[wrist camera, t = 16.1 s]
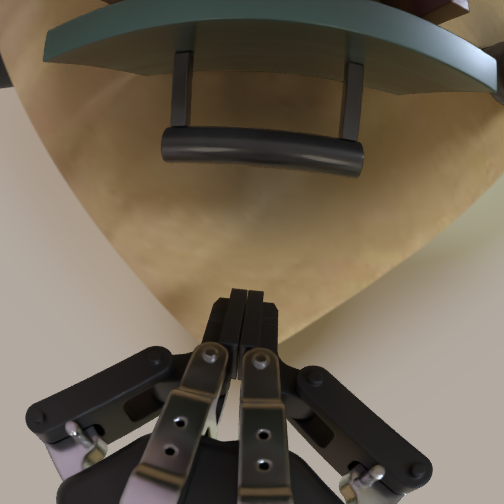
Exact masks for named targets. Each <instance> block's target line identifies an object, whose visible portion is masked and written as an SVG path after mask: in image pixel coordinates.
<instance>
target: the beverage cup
mask: <svg viewBox="0 0 504 504" xmlns="http://www.w3.org/2000/svg"><path fill="white" fill-rule="evenodd" d="M483 51H484V52H486V53H487V54H489V55H490V56H492V57H493V58H495V59H496V62H497V92H496V93H494V92H490V93H491V95H492V96H493V97H494V98H495V100H496V101H497V102H499V103H501V104H502V105H504V42H501V43H497V44H496V45H494V46H491V47H488V48H485V49H484V50H483Z"/></svg>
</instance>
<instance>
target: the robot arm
mask: <svg viewBox="0 0 504 504" xmlns="http://www.w3.org/2000/svg"><path fill="white" fill-rule="evenodd" d="M247 291H248V290H244V289H235V288H232V291H231V295H230V299H229V298H221V297H220V298H219V299H218V300H217V301H216V302H215V303H214V304H213V307H212V310H211V314H210V317H209V320H208V323H207V327H206V330H205V333H204V336H203V340H202V343H201V344H200V345H198V346H197V347H196V348H195V349H194V351H193V352H190V353H187V354H178V355H172V354H171V352H170V351H169V350H168V349H166V348H164V347H161V346H152V347H149V348H146V349H145V350H142V351H141V352H139V353H137V354H135V355H133V356H131V357H129V358H127V359H125V360H123V361H121V362H119V363H117V364H115V365H113V366H111V367H109V368H107V369H105V370H104V371H101V372H100V373H97V374H95V375H93V376H92V377H89V378H87V379H86V380H83V381H81V382H79V383H77V384H75V385H73V386H71V387H69V388H67V389H65V390H62V391H61V392H58V393H56V394H54V395H52V396H50V397H48V398H45V399H43V400H41V401H39V402H37V403H34V404H33V405H32V406H30V407H29V408H28V410H27V413H26V423H27V426H28V428H29V429H30V430H31V431H32V432H33V433H35V434H36V435H37V436H38V437H39V438H40V439H41V440H42V441H43V442H44V444H45V446H46V448H47V450H48V452H49V454H50V457H51V459H52V461H53V463H54V465H55V467H56V469H57V471H58V473H59V475H60V477H61V479H62V480H63V482H62V484H61V485H60V487H59V488H58V491H57V497H56V503H57V504H344V503H343V502H342V500H341V499H340V498H339V497H338V496H337V495H336V494H335V493H334V492H333V491H332V490H331V489H330V488H329V487H328V486H327V485H326V484H325V483H324V482H323V481H322V480H321V478H320V477H319V476H318V475H317V474H316V473H315V472H314V471H313V470H312V469H311V467H310V466H309V465H308V464H307V463H306V462H305V461H304V460H303V459H302V458H301V457H299V456H298V455H296V454H294V453H293V452H291V451H289V450H288V436H287V422H286V418H287V420H288V421H289V422H290V423H291V424H292V425H293V426H294V428H295V429H296V430H297V431H298V432H299V433H300V434H301V435H302V436H303V437H304V438H305V439H306V440H307V442H308V443H309V444H310V445H311V446H312V447H313V448H314V449H315V450H316V451H317V452H318V453H319V454H320V455H321V456H322V457H323V458H324V459H325V460H326V461H327V462H328V463H329V464H330V465H331V466H332V467H333V468H334V469H335V470H336V471H337V472H338V473H339V474H340V475H341V476H342V478H341V480H340V482H339V490H340V492H341V494H342V495H343V496H344V498H345V500H346V504H397V503H398V502H399V501H400V499H401V498H402V497H403V496H404V495H405V494H407V493H410V492H411V491H413V490H416V489H418V488H420V487H422V486H424V485H425V484H426V483H427V482H428V481H429V480H430V478H431V476H432V471H433V468H432V464H431V462H430V460H429V459H428V458H427V457H426V456H424V455H423V454H422V453H421V452H420V451H418V450H417V449H416V448H415V447H414V446H412V445H411V444H410V443H409V442H408V441H406V440H405V439H404V438H403V437H402V436H400V435H399V434H398V433H397V432H395V430H393V429H392V428H391V427H390V426H389V425H388V424H386V423H385V422H384V421H383V420H382V419H381V418H380V417H378V416H377V415H376V414H375V413H374V412H372V410H370V409H369V408H368V407H367V406H366V405H365V404H364V403H362V402H361V401H360V400H359V399H358V398H357V397H356V396H354V395H353V394H352V393H351V392H350V391H349V390H348V389H347V388H346V387H344V385H342V384H341V383H340V382H339V381H338V380H337V379H336V378H335V377H333V375H331V374H330V373H329V372H328V371H327V370H325V369H324V368H322V367H319V366H307V367H304V368H303V369H301V370H299V369H296V368H293V367H290V366H288V365H286V364H285V363H283V362H282V360H281V359H280V358H279V356H278V352H277V346H278V310H277V308H276V306H275V304H274V303H267V302H263V296H264V291H254V290H249V291H248V297H247ZM238 364H239V365H238ZM237 370H238V380H241V389H240V406H239V429H238V440H236V441H225V442H223V441H218V440H217V434H218V428H219V424H220V420H221V416H222V413H223V409H224V406H225V402H226V399H227V395H228V390H229V387H230V381H231V379H236V377H237ZM159 415H160V416H159ZM158 416H159V418H158V421H157V423H156V425H155V427H154V430H153V432H152V433H150V434H147V435H144V436H142V437H140V438H138V439H136V440H135V441H133V442H132V443H130V444H128V445H127V446H125V447H123V448H122V449H120V450H118V451H117V452H115V453H113V454H112V455H110V456H108V457H106V458H105V459H103V458H104V457H105V455H106V453H107V445H108V444H110V443H112V442H114V441H115V440H117V439H119V438H121V437H123V436H125V435H127V434H128V433H130V432H132V431H134V430H135V429H137V428H139V427H141V426H142V425H144V424H146V423H147V422H149V421H151V420H153V419H154V418H156V417H158ZM102 459H103V460H102ZM100 460H101V461H100Z"/></svg>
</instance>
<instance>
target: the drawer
mask: <svg viewBox="0 0 504 504" xmlns="http://www.w3.org/2000/svg"><path fill="white" fill-rule="evenodd" d="M101 1H103V2H106V3H108V4H110V5H109V6H106V7H103V8H100V9H97V10H94V11H92V12H89V13H87V14H84V15H82V16H79V17H77V18H75V19H72V20H70V21H68V22H66V23H63V24H61V25H59V26H57V27H55V28H53V29H51V30H49V31H48V32H47V36H46V42H45V49H44V56H43V62H53V63H67V64H77V65H86V66H94V67H101V68H107V69H113V70H119V71H124V72H129V73H134V74H139V75H144V76H149V75H157V74H166V73H173V82H172V101H171V126H172V127H168V128H166V129H165V131H164V133H163V136H162V141H161V153H162V157H163V160H164V161H165V162H166V163H196V164H221V165H239V166H253V167H265V168H276V169H286V170H295V171H304V172H312V173H319V174H327V175H334V176H340V177H347V178H353V179H356V178H358V177H359V175H360V173H361V170H362V166H363V160H364V151H363V146H362V144H361V143H360V142H358V141H357V140H358V132H359V123H360V114H361V103H362V92H363V86H365V87H369V88H373V89H377V90H381V91H384V92H388V93H391V94H395V95H407V94H418V93H434V92H494V93H496V92H497V62H496V59H495V58H493V57H492V56H490V55H489V54H487V53H486V52H484V51H483V50H481V49H479V48H478V47H476V46H475V45H473V44H471V43H470V42H468V41H466V40H464V39H463V38H461V37H459V36H457V35H455V34H454V33H452V32H450V31H448V30H446V29H444V28H442V27H440V26H438V25H439V24H441V23H444V22H446V21H448V20H451V19H453V18H456V17H459V16H461V15H464V14H467V13H469V12H470V9H469V4H468V0H101ZM214 70H240V71H264V72H277V73H288V74H297V75H305V76H312V77H319V78H325V79H331V80H337V81H342V82H343V93H342V105H341V115H340V125H339V134H338V137H339V138H336V137H330V136H323V135H316V134H309V133H301V132H293V131H283V130H273V129H261V128H245V127H220V126H190V115H191V93H192V77H193V71H214Z"/></svg>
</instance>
